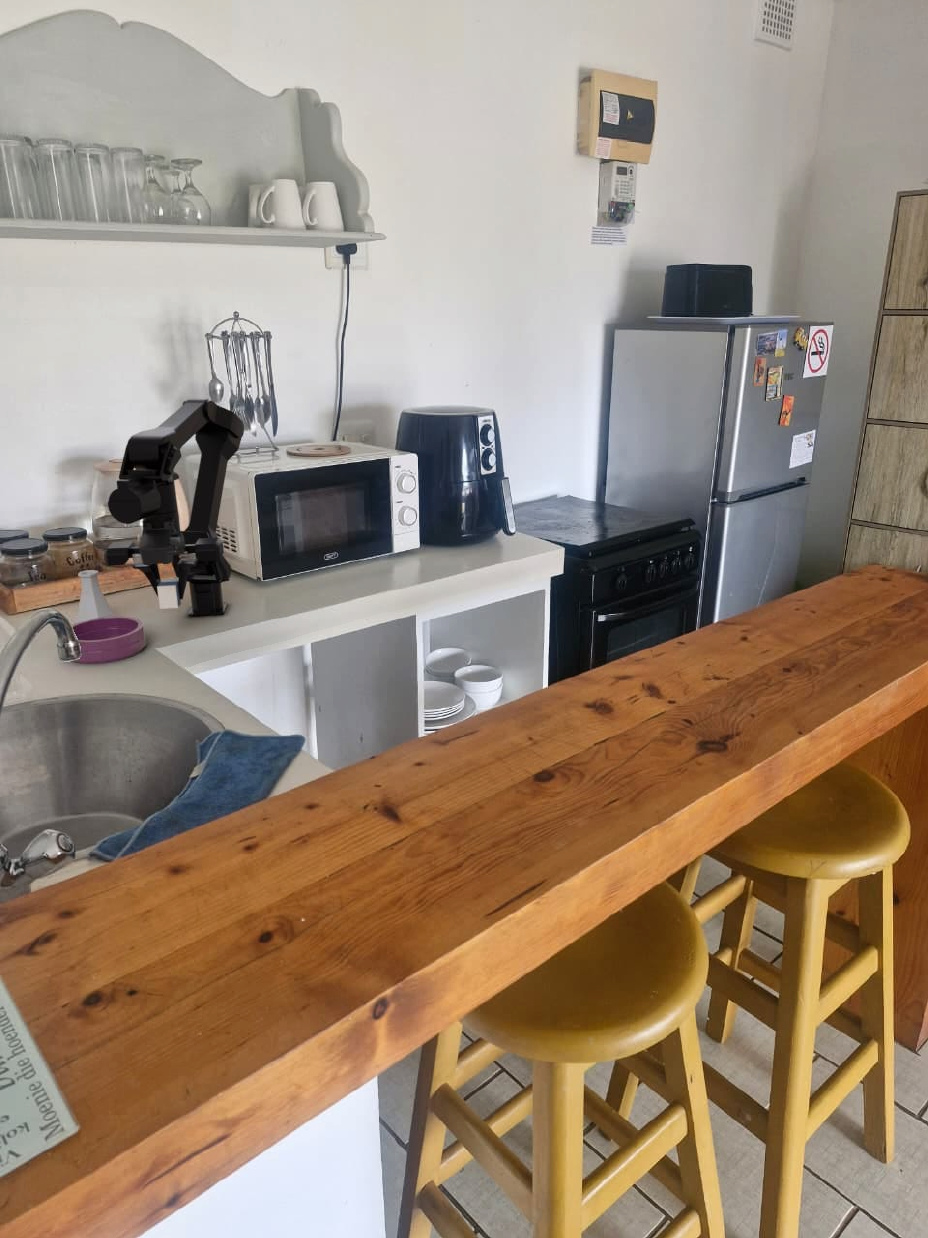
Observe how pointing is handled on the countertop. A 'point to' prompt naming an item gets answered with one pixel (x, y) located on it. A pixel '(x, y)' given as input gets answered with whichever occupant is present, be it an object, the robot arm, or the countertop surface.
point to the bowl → (109, 639)
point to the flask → (92, 598)
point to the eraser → (169, 593)
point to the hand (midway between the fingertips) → (171, 599)
